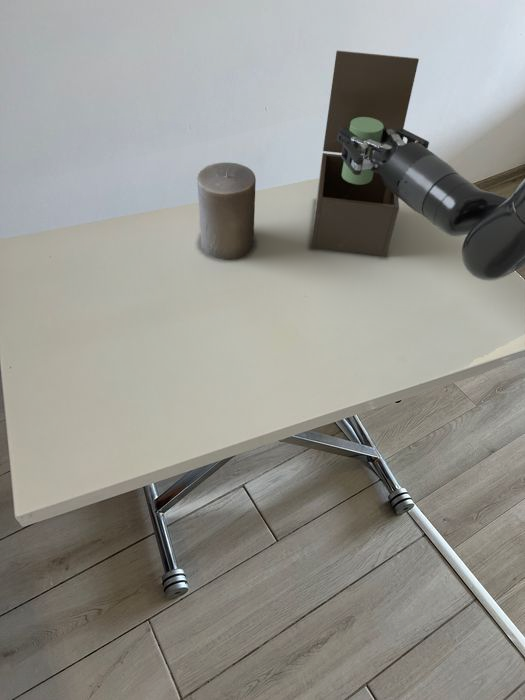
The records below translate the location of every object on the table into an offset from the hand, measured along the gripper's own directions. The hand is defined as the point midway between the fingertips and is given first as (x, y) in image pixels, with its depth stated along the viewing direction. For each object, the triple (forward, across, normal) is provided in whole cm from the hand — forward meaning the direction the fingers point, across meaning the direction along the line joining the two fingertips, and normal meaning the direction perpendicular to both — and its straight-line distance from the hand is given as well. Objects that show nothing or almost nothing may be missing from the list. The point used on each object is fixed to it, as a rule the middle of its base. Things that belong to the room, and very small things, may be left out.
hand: (355, 129), depth 86 cm
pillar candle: (+5, +21, +20) cm, 29 cm away
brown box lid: (+7, -7, 0) cm, 10 cm away
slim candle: (-3, 0, +7) cm, 7 cm away
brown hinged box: (0, -2, +20) cm, 20 cm away
